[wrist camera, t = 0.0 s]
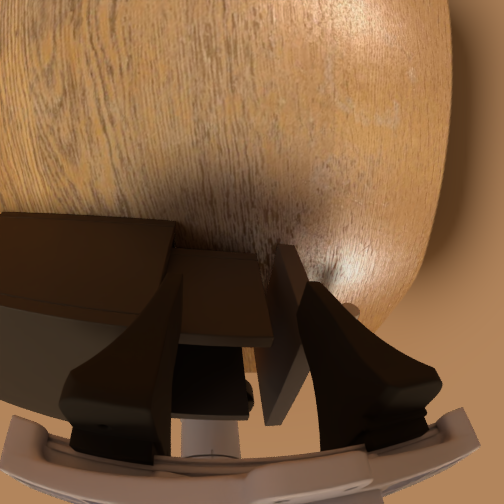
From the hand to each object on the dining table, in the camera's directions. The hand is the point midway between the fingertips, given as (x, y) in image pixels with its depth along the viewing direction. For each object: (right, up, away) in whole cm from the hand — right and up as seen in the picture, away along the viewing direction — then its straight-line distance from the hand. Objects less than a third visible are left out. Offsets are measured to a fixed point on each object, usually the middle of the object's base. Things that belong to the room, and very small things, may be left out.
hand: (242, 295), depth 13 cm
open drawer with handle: (-2, -2, +9) cm, 9 cm away
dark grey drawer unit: (-13, 0, +8) cm, 15 cm away
